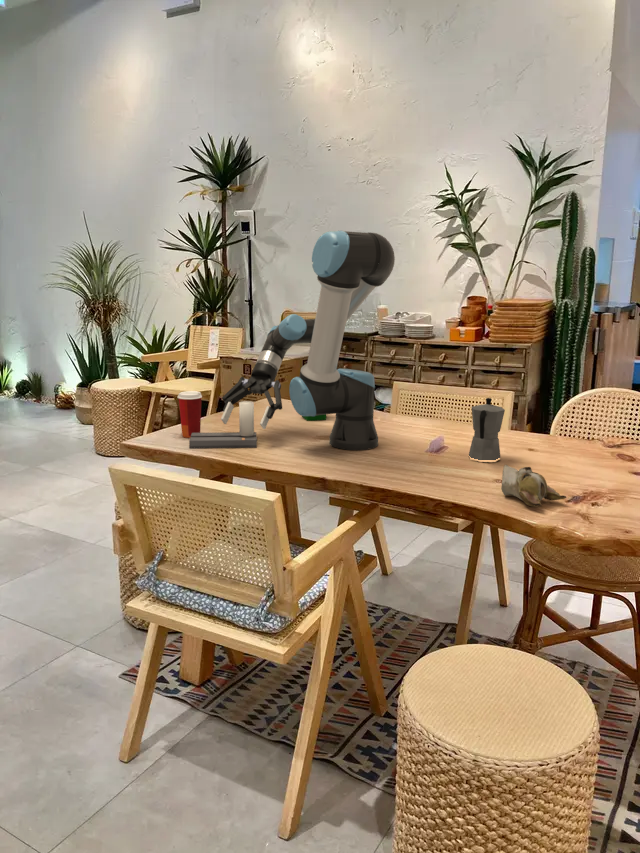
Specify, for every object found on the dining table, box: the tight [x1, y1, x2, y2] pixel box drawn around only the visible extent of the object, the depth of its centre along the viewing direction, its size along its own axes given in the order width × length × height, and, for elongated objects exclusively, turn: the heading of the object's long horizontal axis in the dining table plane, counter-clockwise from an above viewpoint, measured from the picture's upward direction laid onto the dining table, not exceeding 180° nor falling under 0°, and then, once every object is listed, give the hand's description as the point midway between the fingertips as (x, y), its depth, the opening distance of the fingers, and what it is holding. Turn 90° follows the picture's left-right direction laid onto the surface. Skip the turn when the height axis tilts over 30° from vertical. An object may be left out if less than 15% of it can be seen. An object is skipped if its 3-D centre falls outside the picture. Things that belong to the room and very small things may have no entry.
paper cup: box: [177, 390, 203, 439], centre depth 215 cm, size 8×8×14 cm
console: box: [188, 431, 258, 449], centre depth 208 cm, size 20×10×3 cm, turn 96°
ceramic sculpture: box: [500, 464, 567, 508], centre depth 160 cm, size 11×9×15 cm
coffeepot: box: [468, 397, 506, 460], centre depth 193 cm, size 15×9×18 cm, turn 156°
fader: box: [238, 400, 255, 437], centre depth 207 cm, size 4×4×12 cm
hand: (242, 424), depth 205 cm, fingers open, 13 cm apart
